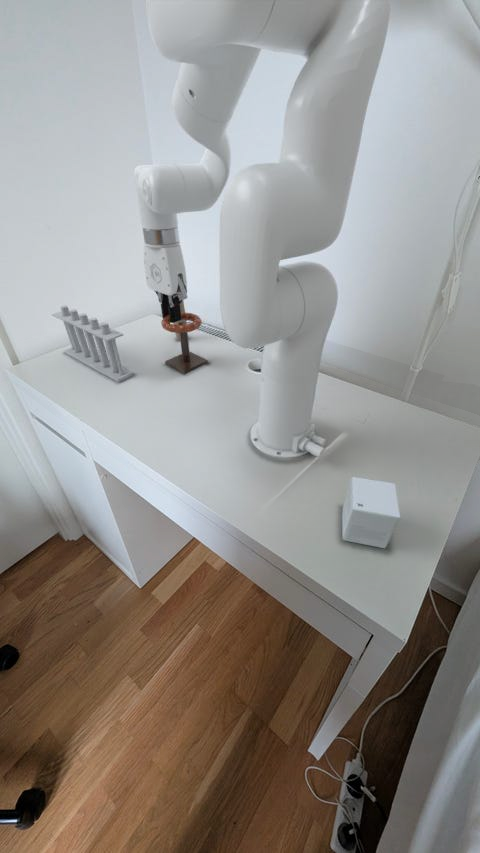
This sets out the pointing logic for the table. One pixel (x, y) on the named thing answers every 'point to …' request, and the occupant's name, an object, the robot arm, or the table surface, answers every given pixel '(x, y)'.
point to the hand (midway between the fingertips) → (172, 319)
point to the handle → (180, 320)
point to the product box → (370, 512)
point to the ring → (182, 328)
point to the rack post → (186, 357)
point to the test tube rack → (93, 343)
